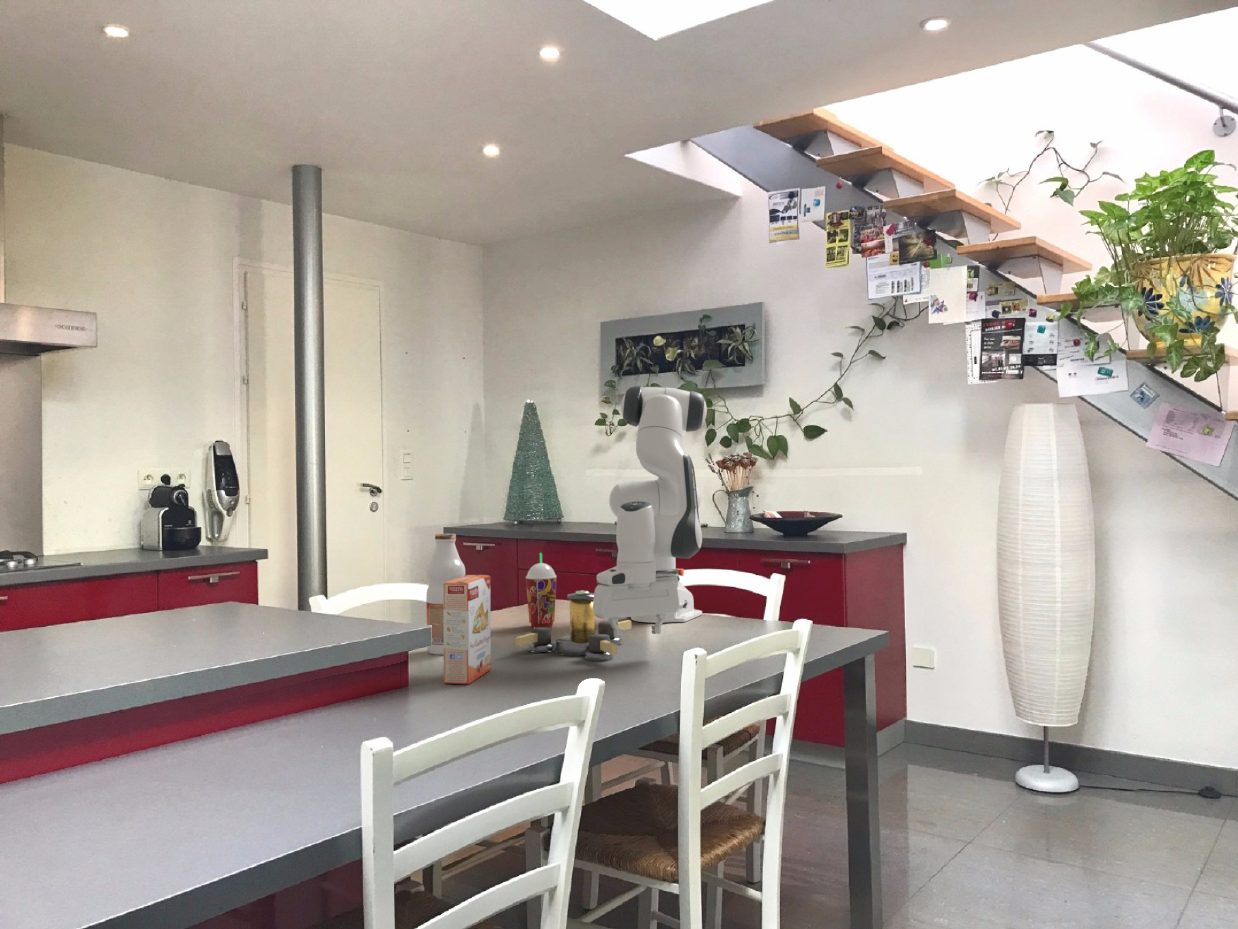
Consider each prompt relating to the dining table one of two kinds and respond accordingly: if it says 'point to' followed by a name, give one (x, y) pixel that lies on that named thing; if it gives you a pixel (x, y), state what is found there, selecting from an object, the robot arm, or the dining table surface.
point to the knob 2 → (602, 644)
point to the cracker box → (466, 628)
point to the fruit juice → (441, 585)
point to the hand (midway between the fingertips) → (637, 635)
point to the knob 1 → (535, 637)
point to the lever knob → (608, 630)
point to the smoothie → (541, 594)
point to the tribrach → (578, 631)
